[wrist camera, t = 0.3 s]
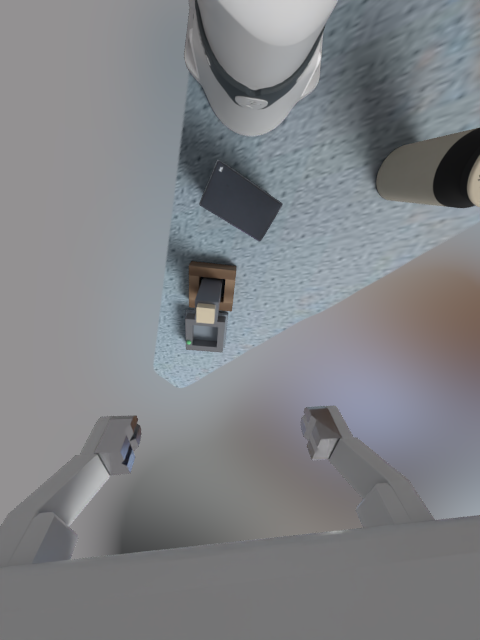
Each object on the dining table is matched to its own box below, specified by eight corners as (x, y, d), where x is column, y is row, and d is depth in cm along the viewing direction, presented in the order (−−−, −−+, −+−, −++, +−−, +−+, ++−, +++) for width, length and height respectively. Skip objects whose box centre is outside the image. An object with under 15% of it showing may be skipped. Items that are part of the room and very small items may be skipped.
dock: (186, 309, 51) (182, 317, 48) (228, 313, 52) (227, 321, 48) (186, 342, 56) (183, 352, 53) (224, 345, 57) (224, 355, 54)
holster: (191, 261, 45) (188, 265, 42) (236, 266, 45) (236, 270, 43) (191, 300, 50) (189, 307, 47) (231, 304, 50) (231, 311, 48)
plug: (204, 274, 46) (193, 304, 35) (222, 276, 47) (217, 306, 35) (203, 291, 49) (193, 324, 37) (221, 293, 49) (216, 326, 37)
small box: (205, 200, 39) (196, 205, 30) (221, 162, 36) (217, 155, 27) (254, 231, 42) (259, 244, 33) (273, 198, 39) (284, 202, 30)
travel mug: (385, 210, 40) (475, 226, 25) (367, 171, 37) (459, 162, 22) (430, 177, 37) (562, 172, 22) (416, 131, 34) (560, 89, 19)
